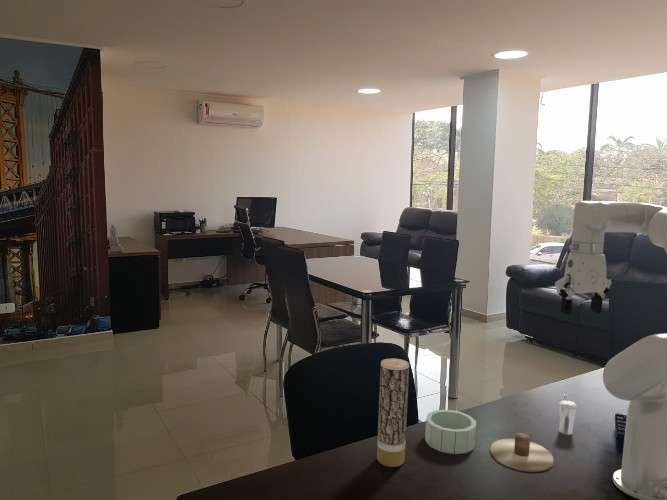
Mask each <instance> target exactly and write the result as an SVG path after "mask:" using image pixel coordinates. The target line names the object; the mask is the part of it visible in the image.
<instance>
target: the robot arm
mask: <svg viewBox="0 0 667 500" xmlns="http://www.w3.org/2000/svg"><path fill="white" fill-rule="evenodd" d="M573 209H574V211H573V220H572V221H573V223H572V234H571V244H569V245H568V249H569V250H570V252H569V253H568V257H567V260H566V264H565V268H564V275H563V277H561V278H560V279H558V280H557V281H555V282H554V287H555V288H556V292H557V294H558V295H559V298H561V305H560V313H562V314H565V315H567V316H571V315H572V309H573V300H572V297H573V296H574V295H575V293H576V294H592V295H591V301H590V308H589V309H590V312H593V313H597V314H602V311H603V309H602V308H603V301H604V300H603V299H605V298H606V295H607V293H608V292H609V289H610V288H611V285H612V280H610V279H608V278H607V260H606V259H607V258H606V256H605V254H603V253H604V242H605V233H635V234H640V235H641V234H642V235H645V236H648V237H649V241H650V242H651V243H652V244H653V245H655V246H657V247H660V248H663V249H664V251H665V253H666V254H667V207H666V206H663V205H662V206H661V205H656V204H651V203H645V202H637V201H608V200H607V201H595V200H594V201H593V200H579V201H578V202H576V203H575V205H574V208H573ZM602 382H603V385H604V387H605V389H606V390H607V392H608V393H609V394H610V395H611V396H612V397H614V398H616V399H618V400H622V401H627V402H629V404H628V407H627V411H626V412H627V413H626V421H625V431H624V439H623V449H622V460H621V469H618V470H616V471H614V472H613V474H612V481H613V483H614V485H615V487H617V488H618V489H619V490H620V491H621V492H623V493H624V494H626V495H628V496H630V497H632V498H634V499H637V500H667V332H665V333H655V334H651V335H648V336H645V337H643V338H641V339H639V340H638V341H636V342H634V343H633V344H631V345H630V346H628V347H626V348H625V349H624V350H622V351H620V352H619V353H617V354H615V355H614V356H613V357H612V358H610V359H609V360H608V361H607V363H606V364H605V366H604V368H603V371H602Z"/></svg>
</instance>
